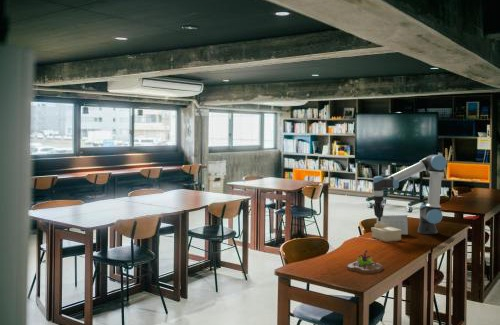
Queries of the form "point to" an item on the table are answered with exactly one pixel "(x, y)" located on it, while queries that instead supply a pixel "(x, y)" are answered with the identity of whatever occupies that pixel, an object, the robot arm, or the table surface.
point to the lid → (384, 228)
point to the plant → (365, 265)
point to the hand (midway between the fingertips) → (378, 224)
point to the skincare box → (396, 222)
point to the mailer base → (387, 236)
